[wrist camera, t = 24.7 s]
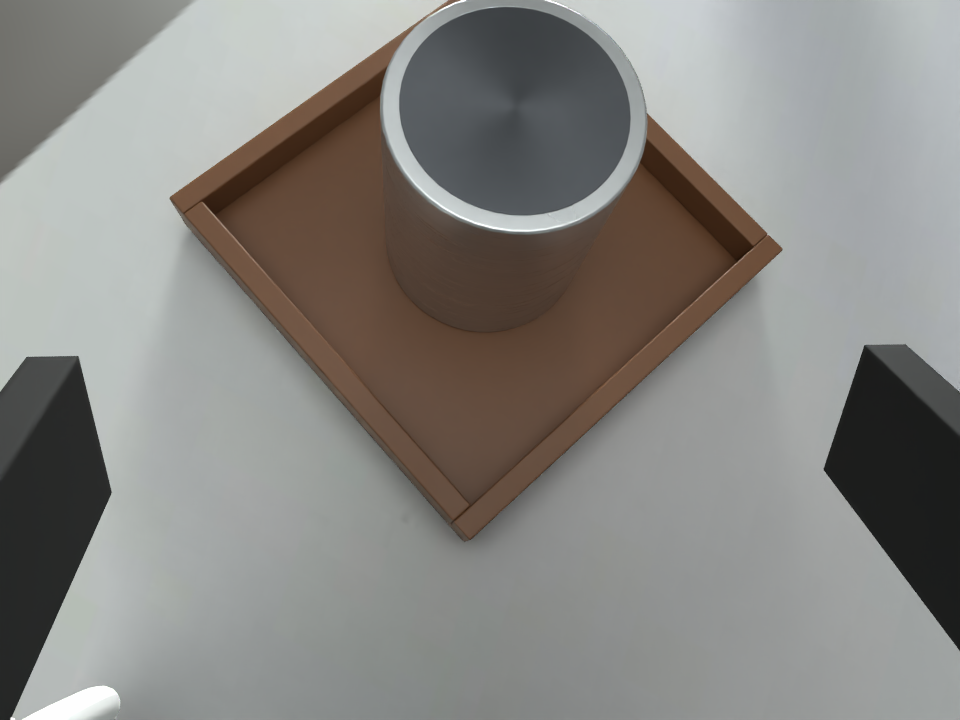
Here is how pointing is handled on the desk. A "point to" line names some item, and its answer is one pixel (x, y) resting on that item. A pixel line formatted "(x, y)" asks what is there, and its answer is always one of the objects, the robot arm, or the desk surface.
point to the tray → (449, 350)
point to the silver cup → (503, 156)
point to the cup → (82, 706)
